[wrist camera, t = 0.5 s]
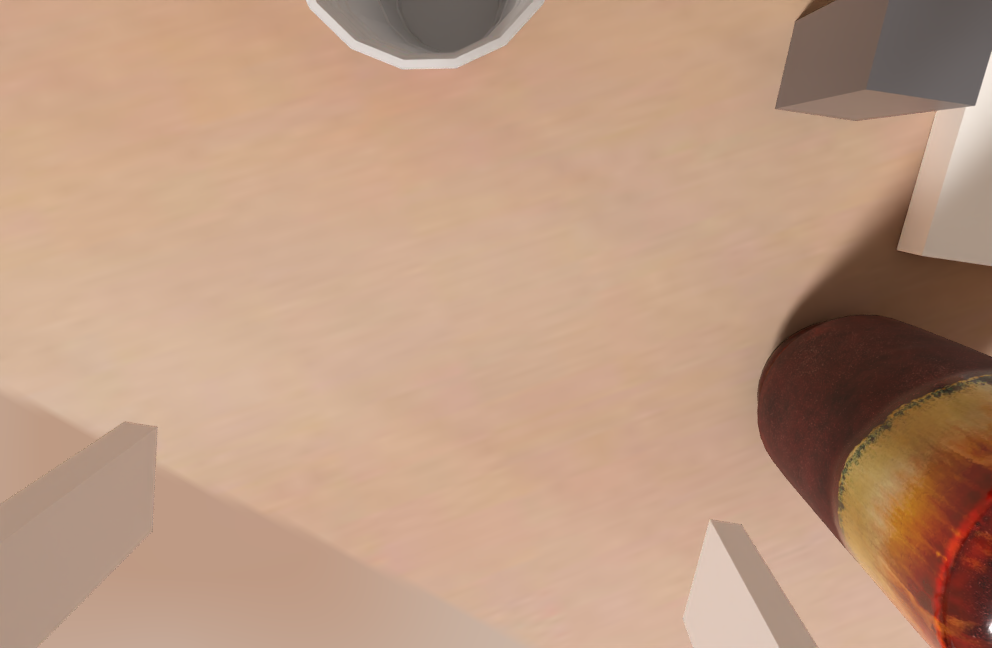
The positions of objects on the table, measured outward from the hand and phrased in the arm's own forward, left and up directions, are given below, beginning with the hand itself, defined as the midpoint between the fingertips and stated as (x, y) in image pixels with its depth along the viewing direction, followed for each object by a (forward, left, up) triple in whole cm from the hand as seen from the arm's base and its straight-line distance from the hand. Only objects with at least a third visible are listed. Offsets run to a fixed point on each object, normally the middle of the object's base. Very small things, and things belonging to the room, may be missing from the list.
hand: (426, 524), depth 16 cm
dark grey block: (-16, +17, -26) cm, 34 cm away
